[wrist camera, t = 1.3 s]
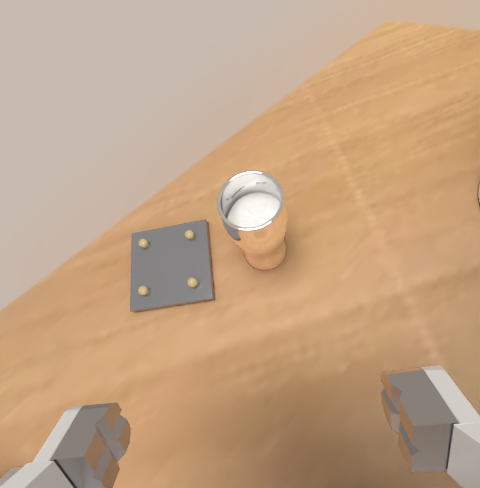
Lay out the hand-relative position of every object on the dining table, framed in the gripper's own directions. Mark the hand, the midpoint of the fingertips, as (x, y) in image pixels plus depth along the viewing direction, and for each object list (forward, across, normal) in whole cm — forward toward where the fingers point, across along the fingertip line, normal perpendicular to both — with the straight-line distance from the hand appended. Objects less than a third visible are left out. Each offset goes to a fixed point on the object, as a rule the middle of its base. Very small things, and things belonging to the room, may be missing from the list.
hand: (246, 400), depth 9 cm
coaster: (+32, +14, +10) cm, 36 cm away
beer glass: (+32, 0, +10) cm, 33 cm away
